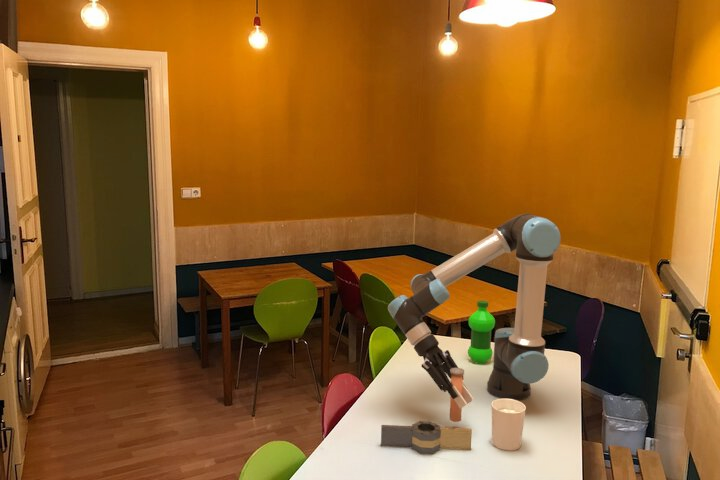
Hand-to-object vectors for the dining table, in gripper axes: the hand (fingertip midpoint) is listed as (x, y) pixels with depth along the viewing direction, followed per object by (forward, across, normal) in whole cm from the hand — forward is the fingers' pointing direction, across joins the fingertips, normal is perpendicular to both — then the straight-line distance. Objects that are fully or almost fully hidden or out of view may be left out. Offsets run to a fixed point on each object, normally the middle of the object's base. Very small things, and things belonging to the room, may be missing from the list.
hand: (467, 403), depth 179 cm
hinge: (+3, +16, -10) cm, 19 cm away
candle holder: (+16, -2, +2) cm, 16 cm away
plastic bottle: (-11, -57, -25) cm, 63 cm away
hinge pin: (+2, 0, -7) cm, 7 cm away
